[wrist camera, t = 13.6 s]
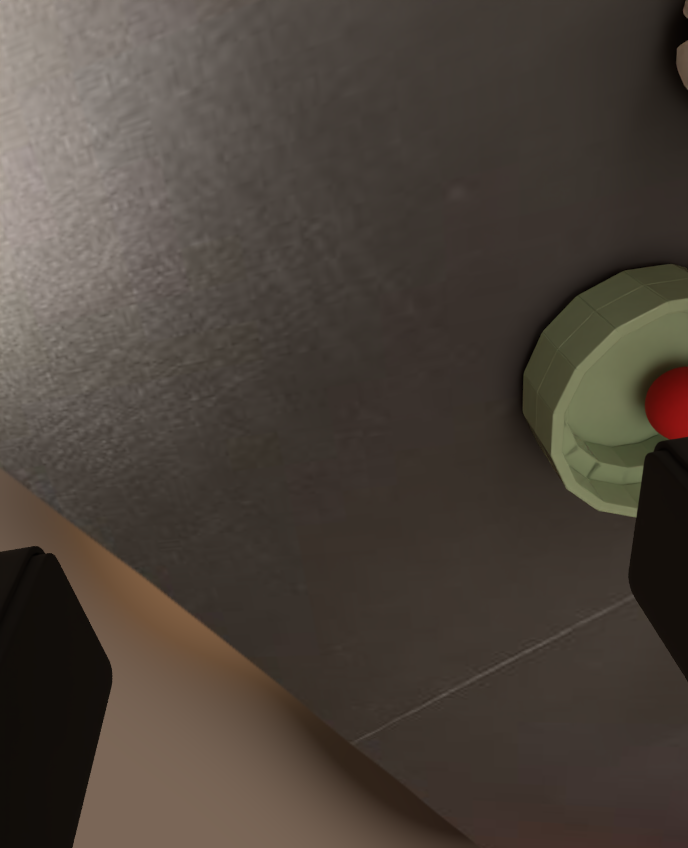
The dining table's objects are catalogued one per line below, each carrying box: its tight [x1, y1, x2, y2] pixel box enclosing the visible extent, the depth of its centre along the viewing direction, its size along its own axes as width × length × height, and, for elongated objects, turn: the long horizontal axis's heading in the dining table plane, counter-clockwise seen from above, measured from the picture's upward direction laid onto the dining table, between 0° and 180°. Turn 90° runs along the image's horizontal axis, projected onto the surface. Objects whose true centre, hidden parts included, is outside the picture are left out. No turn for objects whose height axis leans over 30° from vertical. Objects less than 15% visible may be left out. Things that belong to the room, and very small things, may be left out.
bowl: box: [523, 264, 688, 517], centre depth 33 cm, size 12×12×5 cm
